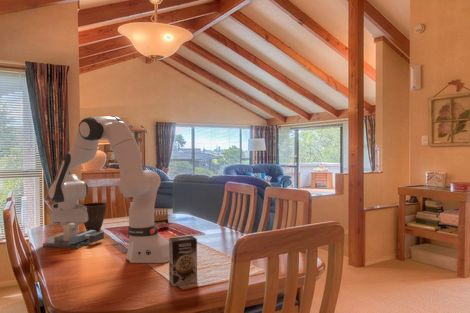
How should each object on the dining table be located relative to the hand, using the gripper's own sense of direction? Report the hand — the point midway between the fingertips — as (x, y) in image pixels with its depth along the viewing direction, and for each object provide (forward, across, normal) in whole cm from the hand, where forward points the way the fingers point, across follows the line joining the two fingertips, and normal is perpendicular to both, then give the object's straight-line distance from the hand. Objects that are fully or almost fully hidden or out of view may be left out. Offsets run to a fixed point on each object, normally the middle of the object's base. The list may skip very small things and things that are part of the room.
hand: (70, 230), depth 191 cm
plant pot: (+6, +4, -26) cm, 27 cm away
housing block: (+5, 0, 0) cm, 5 cm away
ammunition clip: (+7, -33, -39) cm, 51 cm away
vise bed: (+6, -2, 0) cm, 7 cm away
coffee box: (+7, -81, +41) cm, 91 cm away
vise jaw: (+5, -12, 0) cm, 13 cm away
